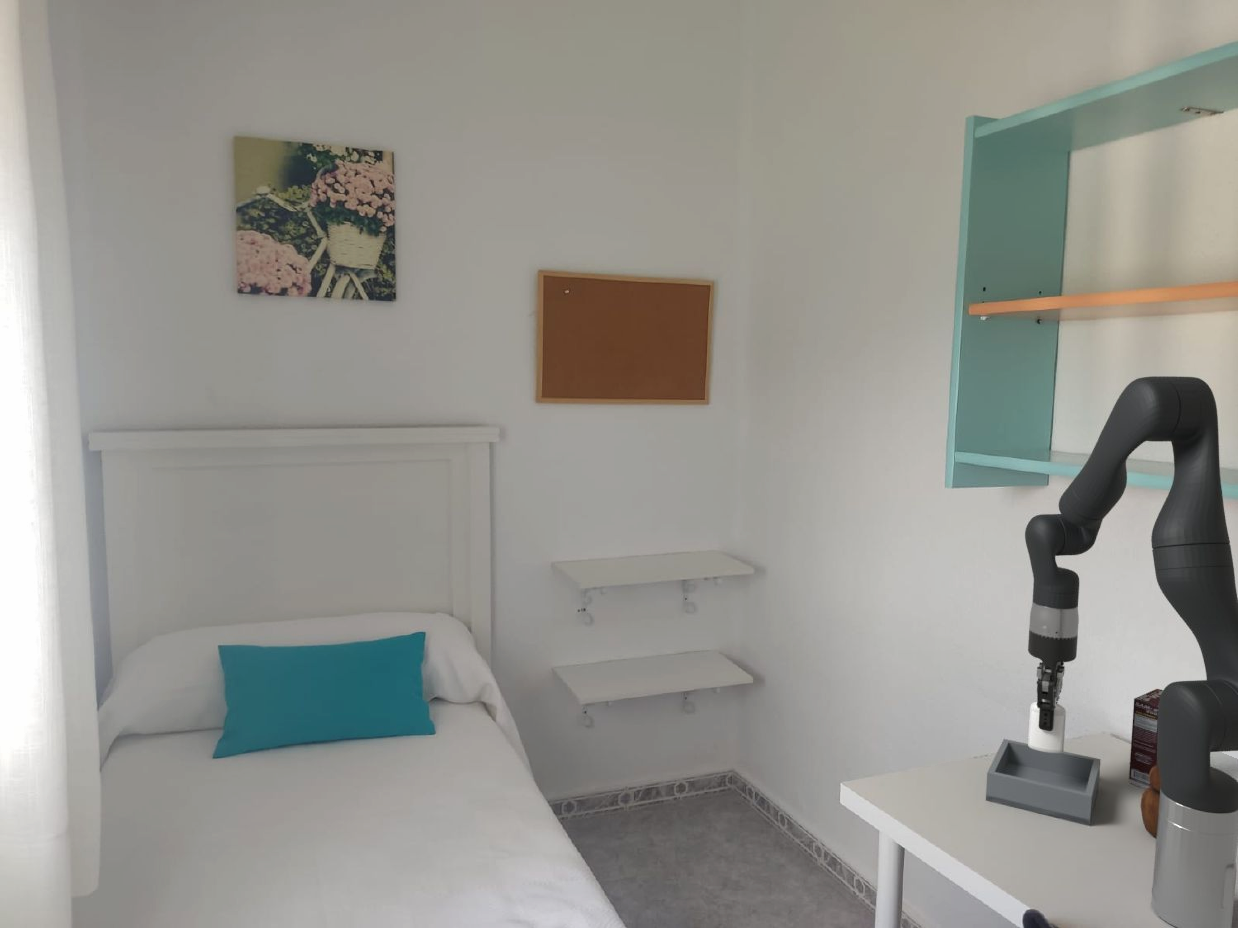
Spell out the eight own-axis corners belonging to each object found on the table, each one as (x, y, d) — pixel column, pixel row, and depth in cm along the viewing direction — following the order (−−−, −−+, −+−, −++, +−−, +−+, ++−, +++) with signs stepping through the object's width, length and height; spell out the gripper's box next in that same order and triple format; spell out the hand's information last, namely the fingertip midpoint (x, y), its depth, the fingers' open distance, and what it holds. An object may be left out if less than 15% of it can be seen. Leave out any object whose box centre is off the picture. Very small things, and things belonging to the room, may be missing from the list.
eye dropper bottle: (1053, 758, 155) (1058, 690, 154) (1023, 746, 160) (1027, 680, 158) (1067, 751, 158) (1072, 684, 156) (1037, 740, 162) (1041, 675, 161)
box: (1098, 785, 162) (1100, 759, 161) (1089, 825, 149) (1091, 796, 148) (1002, 764, 171) (1003, 738, 170) (985, 800, 157) (987, 772, 157)
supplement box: (1150, 769, 168) (1156, 687, 166) (1178, 780, 164) (1185, 695, 162) (1126, 782, 163) (1132, 697, 161) (1154, 793, 159) (1161, 706, 157)
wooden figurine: (1190, 847, 142) (1197, 756, 140) (1149, 844, 143) (1156, 753, 141) (1173, 825, 149) (1180, 738, 147) (1134, 822, 150) (1140, 735, 148)
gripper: (1072, 644, 148) (1066, 745, 150) (1082, 621, 160) (1076, 715, 162) (1022, 636, 152) (1017, 735, 154) (1035, 615, 164) (1030, 706, 166)
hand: (1047, 724), depth 158 cm, fingers closed on eye dropper bottle, 3 cm apart
